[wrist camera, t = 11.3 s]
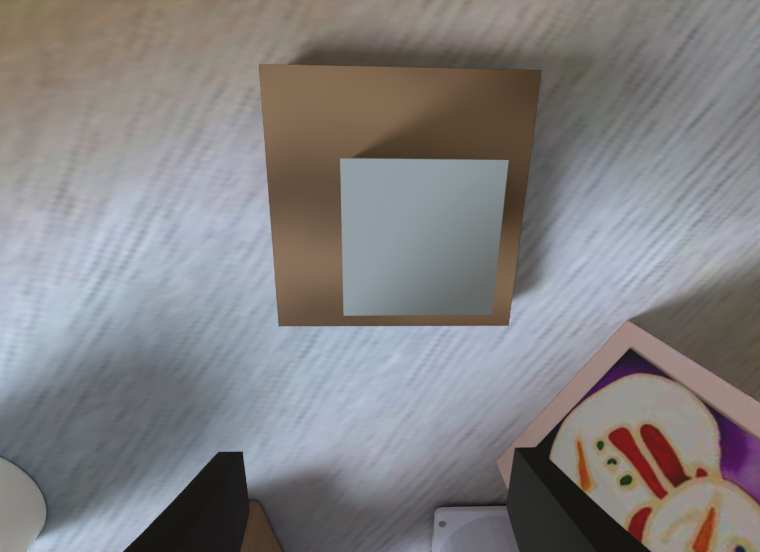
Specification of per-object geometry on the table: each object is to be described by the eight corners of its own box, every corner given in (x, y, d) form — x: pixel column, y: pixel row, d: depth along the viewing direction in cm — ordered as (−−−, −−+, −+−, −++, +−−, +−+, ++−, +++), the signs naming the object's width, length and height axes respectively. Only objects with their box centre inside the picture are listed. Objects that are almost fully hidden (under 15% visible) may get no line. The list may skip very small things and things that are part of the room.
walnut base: (494, 309, 20) (508, 325, 18) (287, 309, 19) (278, 326, 18) (521, 80, 17) (541, 70, 15) (271, 74, 16) (258, 63, 14)
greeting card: (616, 311, 20) (1219, 685, 6) (706, 376, 22) (1363, 800, 7) (485, 455, 23) (681, 952, 9) (572, 504, 24) (865, 997, 10)
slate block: (441, 252, 17) (491, 314, 10) (352, 252, 17) (343, 315, 10) (447, 158, 16) (508, 160, 9) (351, 157, 15) (339, 158, 9)
